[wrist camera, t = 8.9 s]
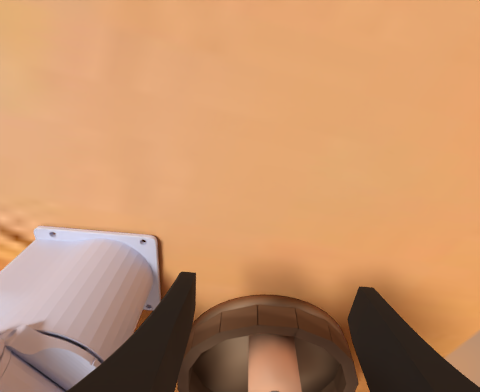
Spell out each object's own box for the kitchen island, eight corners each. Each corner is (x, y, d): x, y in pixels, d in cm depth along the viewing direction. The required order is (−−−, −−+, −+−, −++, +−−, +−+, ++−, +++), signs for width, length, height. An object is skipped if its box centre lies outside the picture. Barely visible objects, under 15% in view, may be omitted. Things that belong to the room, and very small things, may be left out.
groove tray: (185, 393, 33) (178, 425, 30) (183, 287, 26) (175, 317, 23) (326, 404, 33) (333, 438, 30) (366, 302, 26) (380, 334, 23)
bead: (246, 347, 27) (245, 407, 23) (251, 317, 25) (251, 376, 21) (288, 352, 27) (296, 412, 23) (297, 322, 26) (307, 382, 21)
